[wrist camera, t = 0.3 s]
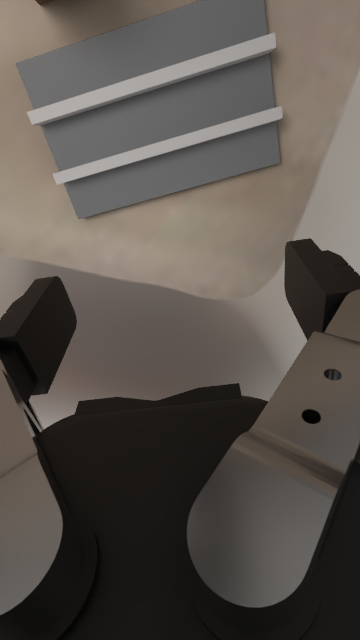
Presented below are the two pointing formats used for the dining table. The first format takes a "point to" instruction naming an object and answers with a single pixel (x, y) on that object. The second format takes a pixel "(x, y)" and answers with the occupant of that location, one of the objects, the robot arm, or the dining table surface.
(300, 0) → the dining table surface
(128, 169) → the track plinth
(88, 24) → the dining table surface
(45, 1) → the brown wooden block
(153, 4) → the dining table surface
